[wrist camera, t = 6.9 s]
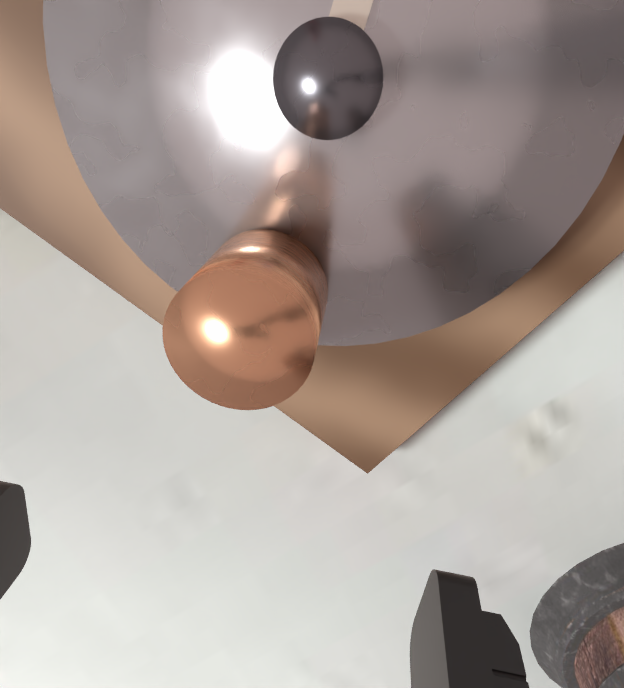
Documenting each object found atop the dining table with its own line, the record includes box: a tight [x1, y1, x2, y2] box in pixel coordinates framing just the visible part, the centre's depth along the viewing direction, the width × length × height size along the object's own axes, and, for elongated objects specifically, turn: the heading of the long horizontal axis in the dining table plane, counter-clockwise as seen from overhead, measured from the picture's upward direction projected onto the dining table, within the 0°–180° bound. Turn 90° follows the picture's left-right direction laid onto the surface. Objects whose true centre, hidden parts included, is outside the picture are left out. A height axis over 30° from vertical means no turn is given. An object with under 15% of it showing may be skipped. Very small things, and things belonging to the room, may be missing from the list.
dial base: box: [0, 0, 624, 473], centre depth 21 cm, size 26×26×2 cm
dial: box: [43, 0, 624, 410], centre depth 17 cm, size 20×20×6 cm
